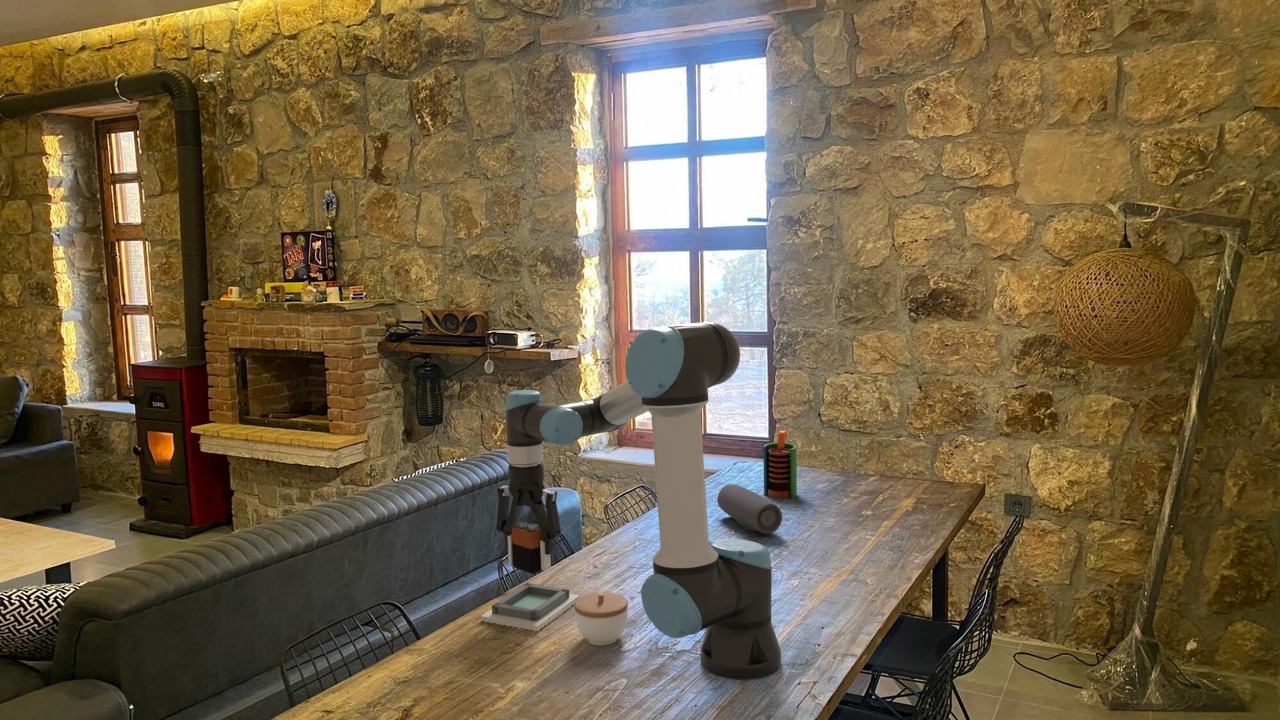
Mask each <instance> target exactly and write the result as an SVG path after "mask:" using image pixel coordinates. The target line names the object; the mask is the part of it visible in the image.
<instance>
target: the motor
mask: <svg viewBox="0 0 1280 720" xmlns="http://www.w3.org/2000/svg"><path fill="white" fill-rule="evenodd" d="M777 437H778V438H777V442H771V443H767V444H766V443H765V444H764V445H763V448H762V449H763V496H768V497H770V498H772V499H777V500H779V499H780V500H783V499H785V500H786V499H795V498H797V497H798V488H797V487H798V483H797V482H798V479H797V478H798V474H797V473H798V471H797V469H798V467H797V464H798V462H797V461H798V458H797V457H798V456H797V452H798V451H797V450H798V449H797V445H796V444H793V443H790V442H789V443H788V442H786V441H785V440H786V438H788V431H787V430H779V432H778V436H777Z"/></svg>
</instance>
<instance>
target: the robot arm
mask: <svg viewBox="0 0 1280 720" xmlns="http://www.w3.org/2000/svg"><path fill="white" fill-rule="evenodd" d="M740 361H741V349H740V345H739V342H738V340H737V338H736V337H735V335H734V334H733V332H732V331H730V330H729V329H728V328H727V327H725V326H723V325H721V324H720V323H716V322H711V321H701V322H693V323H686V324H675V325H674V324H672V325H662V326H657V327H653V328H648V329H645V330H643V331H641V332H639V334H637V335H636V336H635V338H634V340H633V341H632V342H631V343H630V345H629V347H628V349H627V352H626V356H625V363H624V364H625V365H624V367H625V369H624V370H625V377H626V381H624V382H623V383H621V384H618V385H617V386H615V387H613V388H612V389H609V390H608V391H606V392H604V393H602V394H600V395H598V396H596V397H594V398H590V399H586V400H578V401H573V402H567V403H561V404H554V405H553V404H545V403H543V400H542V394H541V393H540V392H539V391H538V390H534V389H532V390H531V389H522V390H521V389H520V390H515V391H514V390H513V391H510V392H509V393H507V394H506V397H505V409H504V410H505V411H504V412H505V425H506V441H507V444H506V445H507V449H506V450H507V463H509V464H508V467H507V468H508V469H507V470H508V481H509V485H505V484H504V485H502V486H501V487H498V488H497V489H496V490H497V496H498V504H497V516H496V518H497V519H496V525H495V526H496V527H495V528H496V531H497V532H501V533H503V535H504V548H505V549H507V553H508V554H507V555H508V558H507V559H508V566H513V552H512V528H513V527H516V526H517V523H518V520H519V518H520V514H521V511H522V508H523V506H526V507H529V509H530V511H531V512H533V515H534V518H535V521H536V523H537V525H538V527H539V528H540V531H541V533H542V536H543V539H542V540H541V541H540V549H541V570H542V571H546V570H547V569H549V568H551V566H552V564H551V561H552V560H551V559H552V558H551V554H553V552H554V539H556V538H559V536H561V535H562V531H561V530H562V528H561V523H560V517H559V511H558V506H557V505H558V504H557V497H558V492H557V491H556V490H552V491H550V490H548V489H546V487H545V485H544V479H545V473H544V472H545V469H544V467H545V466H544V463H543V460H544V446H543V444H544V443H543V442H546V443H550V444H551V445H555V446H570V445H573V444H574V443H575V442H576V441H577V440H579V439H580V438H584V437H588V436H593V435H599V434H604V433H612V432H615V431H618V430H621V429H623V428H624V427H626V426H627V423H628V422H629V421H631V420H633V419H635V418H638V417H639V416H641V415H643V414H645V413H648V412H649V414H650V415H651V425H652V426H651V427H652V441H653V442H652V443H653V457H654V470H655V472H654V473H655V485H656V500H657V514H658V515H657V516H658V529H659V530H658V531H659V543H660V544H659V545H660V548H659V549H658V550H657V552H656V553H654V555H653V556H652V569H653V571H652V572H653V574H651V575H649V576H648V577H647V578H646V579H645V581H644V582H643V583H642V585H641V589H640V591H641V592H640V594H641V595H640V596H641V603H642V606H643V609H644V612H645V614H646V616H647V617H648V619H649V621H650V622H652V624H653V626H654V628H656V629H657V630H658V631H659V632H660V633H661V634H663V635H664V636H667V637H669V638H673V639H682V638H685V637H688V636H690V635H691V636H692V635H696V634H698V633H700V631H703V630H705V629H706V631H705V634H704V637H703V640H702V644H701V647H700V663H701V666H702V667H703V668H704V670H706V671H707V672H709V673H711V674H713V675H715V676H718V677H722V678H726V679H732V680H754V679H760V678H764V677H767V676H771V675H772V674H773V673H775V672H777V671H778V669H779V670H780V668H781V664H782V650H781V647H780V643H779V640H778V638H777V635H776V632H775V629H774V626H773V623H772V570H773V567H772V558H771V552H770V551H769V548H767V547H766V546H765V545H763V544H761V543H759V542H755V541H751V540H748V539H747V540H746V539H741V538H740V539H739V538H719V539H713V540H711V541H710V538H709V525H708V524H709V523H708V512H707V511H708V506H707V493H706V490H707V489H706V479H705V462H704V461H705V460H704V447H703V434H702V433H703V432H702V431H703V430H702V416H701V412H702V410H703V408H704V407H705V406H706V405H707V404H708V403H709V388H713V387H714V386H718V385H720V384H723V383H725V382H726V381H728V380H729V379H730V378H731V377H733V375H734V374H735V373H736V371H737V369H738V367H739V365H740ZM510 495H511V496H512V498H513V499H512V501H511V505H510ZM542 498H543V499H542ZM543 500H544V501H545V504H544V502H543ZM509 507H510V508H509ZM544 507H545V508H544ZM509 509H510V511H509Z"/></svg>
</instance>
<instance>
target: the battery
mask: <svg viewBox="0 0 1280 720" xmlns="http://www.w3.org/2000/svg"><path fill="white" fill-rule="evenodd" d="M542 539H543V536H542V533H541V531H540V528H539V526H538V523H537V524H536V523H531V524H530V523H527V522H526V521H521V522H519V525H516V526H515V527H513V528H512V552H513V565H512V567H513V568H515V569H517V570H520V571H522V572H525V573H529V574H531V575H533V574H536V573H540V572H541V571H543V570H541V549H540V541H541V540H542Z"/></svg>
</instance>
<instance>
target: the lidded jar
mask: <svg viewBox="0 0 1280 720" xmlns="http://www.w3.org/2000/svg"><path fill="white" fill-rule="evenodd" d="M573 607H574V615H575V622H576V625H577V629H578V632H579V633H580V635H581V636H582V637H583V638H584V639H585V640H586V641H587V642H588V643H589V644H590V645H593V646H600V647H601V646H608V645H612V644H614V643H616V642H617V641H618V639H619V637H620V636H622V634H623V632H624V631H625V629H626V626H627V622H628V607H629V602H628V599H627V598H626V597H625V596H624V595H620V594H618V593H613V592H594V593H589V594H585V595H582V596H581V597H580V598H579V599H577V600H576V602H575V604H574V605H573Z"/></svg>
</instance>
